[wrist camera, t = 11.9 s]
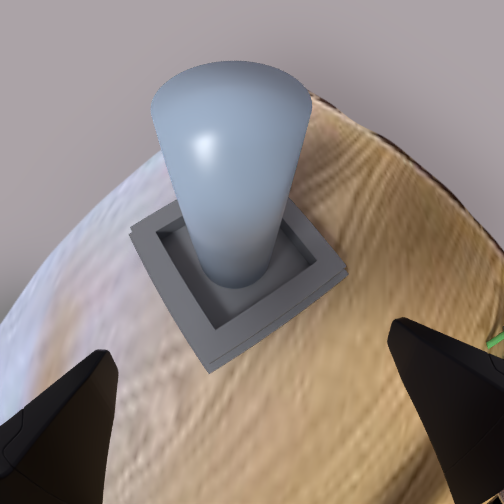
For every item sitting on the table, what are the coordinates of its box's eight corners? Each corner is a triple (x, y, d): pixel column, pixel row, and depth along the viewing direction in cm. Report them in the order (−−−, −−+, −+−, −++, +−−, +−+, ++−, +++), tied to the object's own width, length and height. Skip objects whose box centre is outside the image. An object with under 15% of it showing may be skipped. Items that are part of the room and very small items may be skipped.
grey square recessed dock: (345, 276, 20) (355, 267, 18) (210, 373, 16) (206, 374, 15) (254, 169, 23) (255, 153, 21) (131, 237, 20) (122, 226, 18)
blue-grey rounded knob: (283, 263, 19) (344, 113, 7) (224, 302, 18) (197, 178, 6) (243, 212, 21) (250, 51, 9) (186, 246, 19) (131, 92, 7)
